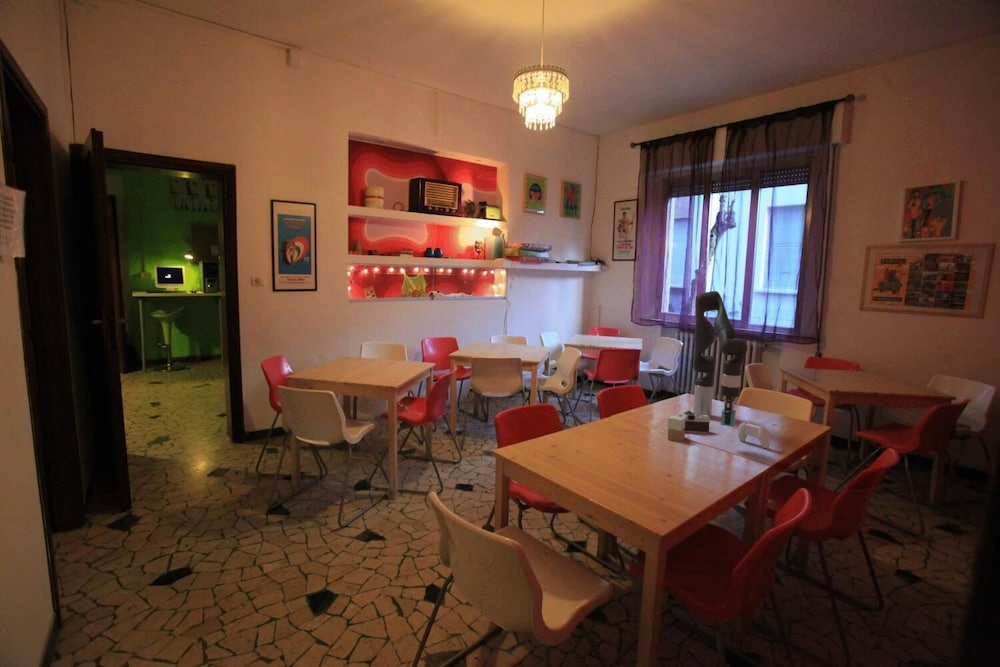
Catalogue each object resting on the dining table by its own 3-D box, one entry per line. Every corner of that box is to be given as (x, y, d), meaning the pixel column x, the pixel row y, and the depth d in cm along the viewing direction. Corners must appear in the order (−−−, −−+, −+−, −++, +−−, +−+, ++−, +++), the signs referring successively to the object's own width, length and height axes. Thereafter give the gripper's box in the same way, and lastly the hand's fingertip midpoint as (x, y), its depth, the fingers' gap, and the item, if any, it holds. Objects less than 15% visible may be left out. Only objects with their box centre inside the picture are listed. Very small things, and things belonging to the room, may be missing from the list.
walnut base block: (667, 435, 223) (668, 425, 222) (683, 437, 220) (684, 427, 220) (667, 440, 216) (668, 429, 216) (684, 442, 214) (684, 431, 213)
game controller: (771, 449, 206) (773, 427, 205) (765, 451, 204) (767, 428, 203) (740, 440, 218) (741, 419, 217) (734, 441, 216) (736, 420, 215)
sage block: (671, 425, 222) (672, 415, 222) (684, 428, 219) (685, 417, 218) (667, 428, 217) (668, 417, 217) (681, 431, 214) (681, 420, 213)
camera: (705, 428, 235) (706, 409, 234) (710, 434, 227) (712, 413, 226) (672, 426, 237) (673, 407, 236) (676, 432, 228) (677, 411, 227)
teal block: (722, 421, 209) (723, 408, 209) (734, 423, 207) (735, 410, 206) (720, 424, 205) (721, 411, 204) (733, 426, 202) (734, 413, 202)
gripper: (722, 380, 212) (720, 417, 214) (719, 386, 200) (716, 425, 202) (741, 382, 208) (738, 420, 210) (739, 388, 196) (736, 428, 198)
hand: (727, 422), depth 206 cm, fingers closed on teal block, 5 cm apart
